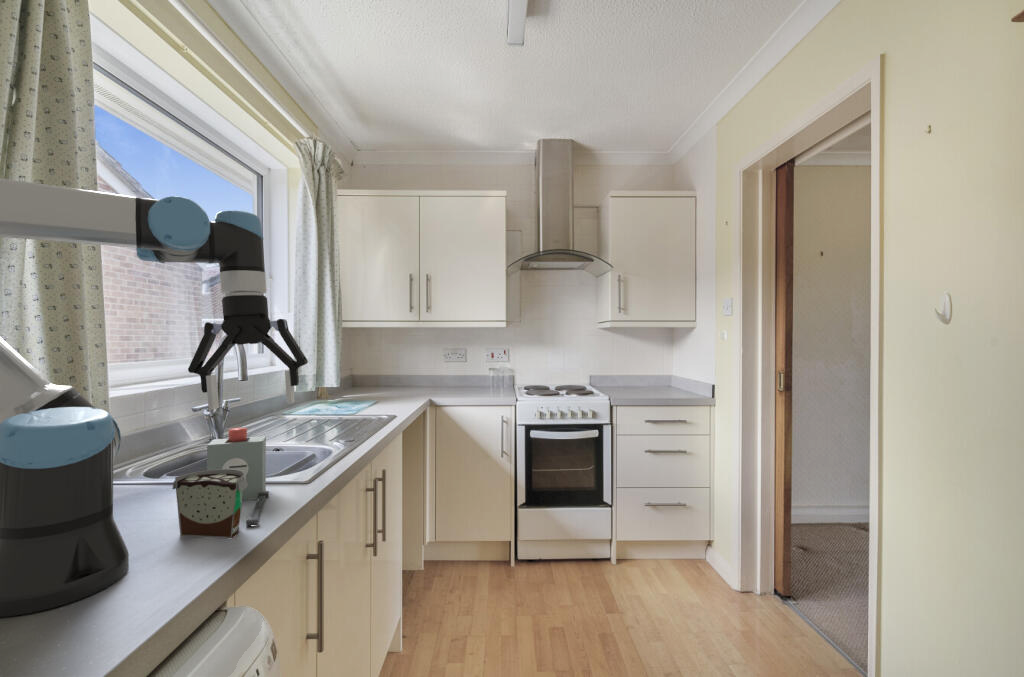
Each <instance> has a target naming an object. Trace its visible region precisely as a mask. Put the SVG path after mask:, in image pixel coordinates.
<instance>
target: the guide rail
mask: <svg viewBox="0 0 1024 677" xmlns="http://www.w3.org/2000/svg"><path fill="white" fill-rule="evenodd" d="M269 492H270V491H269V490H266V491H264V492H262V493H258V500H257V501H256V503H255V506H254V509H253V511H252V513H251V515H250V517H247V519H246V521H245V523H246V526H251V525H258V526H259V524H258V523H260V522H259V519H260V517H259V516H261V514H260V513H262V512H263V511H262V510H263V509H264V506H265V503H266V501H267V499H269ZM246 526H245V527H246Z"/></svg>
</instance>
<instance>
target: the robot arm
mask: <svg viewBox="0 0 1024 677" xmlns="http://www.w3.org/2000/svg"><path fill="white" fill-rule="evenodd" d="M263 236H264V235H263V230H262V223H261V219H260V217H259V216H258V215H256V214H255V213H252V212H249V211H245V210H222V211H218V212H217V213H216V214H215V219H214V221H213V220H212V221H210V219H209V216H208V214H207V212H206V211H205V210H204V208H203V207H202V206H201V205H199V204H198V203H197V202H195V201H194V200H193V199H192V200H191V199H190V198H187V197H183V196H180V195H179V196H177V195H175V196H174V195H173V196H166V197H163V198H161V199H155V198H148V197H137V196H132V195H125V194H116V193H110V192H102V191H97V190H96V191H95V190H87V189H80V188H74V187H67V186H59V185H52V184H51V185H50V184H45V183H44V184H43V183H38V182H37V183H36V182H29V181H24V180H23V181H22V180H16V179H15V180H14V179H8V178H1V177H0V237H1V238H9V239H11V238H12V239H21V240H22V239H24V240H35V241H36V240H37V241H49V242H61V243H70V244H71V243H72V244H82V245H83V244H84V245H97V246H109V247H110V246H111V247H121V248H135V250H136V251H135V252H136V256H137V258H138V259H139V260H141V261H143V262H155V263H161V264H165V263H186V264H187V263H191V264H192V263H195V264H196V263H198V264H218V267H219V275H220V276H219V278H220V280H219V281H220V292H221V293H222V295H224V296H223V297H222V298H221V305H222V315H223V321H222V323H218V322H217V323H216V322H213V321H211V322H208V321H207V322H205V324H204V325H203V326H204V327H203V328H204V329H203V336H202V337H201V340H200V342H199V345H198V347H197V348H196V351H195V352H194V355H193V357H192V360H191V362H190V364H189V366H188V369H187V371H188V373H191V374H195V375H198V376H200V377H199V378H200V383H201V385H200V388H201V391H202V393H207V394H206V395H207V406H208V407H207V408H208V411H211V412H212V411H215V410H217V409H220V402H219V390H218V389H219V388H218V379H217V377H218V376H217V373H216V374H215V373H213V371H214V370H215V369H216V368H217V367H218V365H219V364H220V363H221V361H222V360H224V358H225V356H226V355H227V354H228V353H229V352H230V351H231V349H233V347H235V345H237V346H240V345H247V344H249V345H257V344H260V343H261V344H262V345H264V346H265V347H266V348H267V349H268V350H269V351H270V352H272V353H273V355H274V356H275V357H277V358H278V360H280V361H281V362H282V363H283V364H284V365H285V366H286V367H287V368H288V369H285V370H284V377H285V392H286V393H285V394H286V404H287V405H292V404H293V403H295V402H296V400H295V399H296V397H295V387H296V386H299V383H300V378H299V368H301V367H302V366H305V365H307V364H308V362H309V361H308V359H307V357H306V355H305V354H304V352H303V351H302V349H301V347H300V346H299V344H298V342H297V341H296V339H295V338H294V337H293V335H292V333H291V332H290V330H289V325H288V321H287V319H285V318H279V319H277V320H276V319H275V320H271V319H270V317H269V306H268V297H266V296H265V295H264V294H266V293H267V279H266V277H267V276H266V269H265V250H264V237H263ZM272 328H273V329H274V330H275V331H277V332H278V333H279V334H280V335H279V336H281V338H282V340H283V341H284V343H285V344H286V346H287V347H288V349H289V351H290V353H291V354H292V355H293V357H294V358H295V359H293V358H292V357H291V356H290V355H289V354H288V352H286V351H285V350H284V349H283V348H282V347H281V346H280V345H279V344H278V343H277V342H276V341H275V340H274V338H272V336H270V335H269V332H270V331H271V329H272ZM221 330H222V331H223V332H224V334H226V336H225V338H224V339H223V341H221V344H220V345H219V346H218V348H217V349H216V350H215V351H214V352H213V354H212V355H211V356H210V357H209V358H208V360H207V361H206V359H207V357H208V355H209V352H210V350H211V348H212V347H213V344H214V342H215V340H216V337H217V335H219V333H221ZM205 361H206V362H205ZM121 442H122V435H121V430H120V428H119V426H118V423H117V421H116V420H115V419H114V418H113V417H112V415H111V413H109V412H108V411H106V410H104V409H103V408H102V409H101V408H98V407H95V406H94V405H93V404H92V403H91V402H90V401H89V400H88V399H86V397H85V396H83V395H82V393H81V392H79V391H78V390H76V389H75V388H74V386H72V385H64V384H63V385H61V384H60V385H59V384H54V383H52V382H51V381H50V380H49V379H48V378H46V377H45V376H44V375H43V373H41V372H40V371H39V370H37V368H35V366H33V365H32V364H31V363H30V362H29V361H28V360H26V359H25V357H23V356H22V355H21V354H20V353H19V352H18V351H17V350H16V349H14V347H13V346H11V345H10V344H9V343H8V342H7V341H5V339H4V338H3V337H1V336H0V618H1V617H12V616H20V615H26V614H27V615H29V614H31V613H32V614H33V613H37V612H42V611H45V610H49V609H55V608H58V607H60V606H64V605H68V604H70V603H74V602H76V601H79V600H82V599H84V598H86V597H89V596H91V595H94V594H96V593H98V592H101V591H102V590H105V589H106V588H108V587H109V586H112V585H113V584H115V583H116V582H118V581H119V580H120V579H121V578H123V577H124V576H125V575H126V574H127V573H128V571H129V566H130V565H129V564H130V563H129V562H130V561H129V557H130V556H129V555H130V554H129V550H128V547H127V546H126V543H125V541H124V539H123V536H122V534H121V532H120V530H119V528H118V526H117V524H116V521H115V519H114V461H115V458H116V456H117V455H118V453H119V450H120V447H121Z"/></svg>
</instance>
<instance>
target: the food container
mask: <svg viewBox="0 0 1024 677" xmlns="http://www.w3.org/2000/svg"><path fill="white" fill-rule="evenodd" d="M247 485H248V484H247V480H246V476H245V475H244V473H243V472H242V471H239V470H233V469H217V470H207V469H206V470H199V471H195V472H190V473H189V472H188V473H185V474H182V475H177V476H175V477H174V480H173V484H172V490H175V493H176V505H177V514H178V515H177V516H178V526H179V536H180V537H188V538H190V537H191V538H206V539H207V538H210V539H211V538H214V539H228V538H232V539H233V538H235V537H236V536H237V535H238V533H239V531H240V521H241V513H242V512H241V511H242V504H243V503H242V502H243V500H242V494H243V490H244V489H245V488H246V487H247ZM236 534H237V535H236ZM235 535H236V536H235ZM234 536H235V537H234Z"/></svg>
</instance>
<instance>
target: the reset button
mask: <svg viewBox="0 0 1024 677" xmlns="http://www.w3.org/2000/svg"><path fill="white" fill-rule="evenodd" d="M227 436H228V437H227V439H228V441H229V442H241V441H245V440H247V437H248V428H247V427H233V428H229V429H228V435H227Z"/></svg>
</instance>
